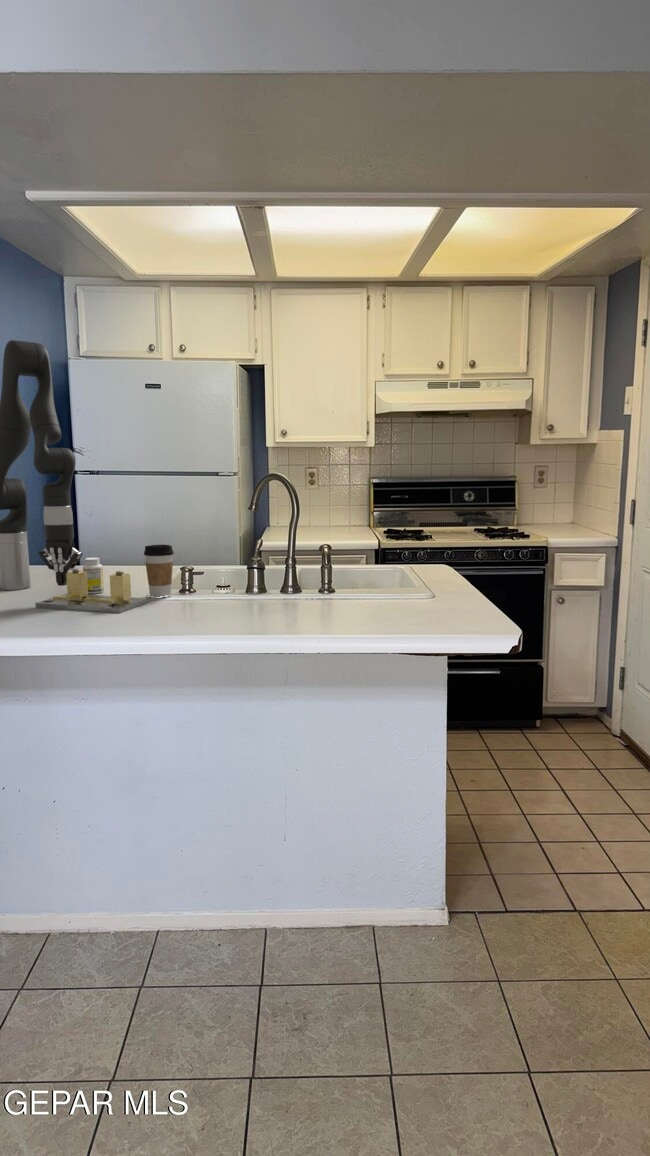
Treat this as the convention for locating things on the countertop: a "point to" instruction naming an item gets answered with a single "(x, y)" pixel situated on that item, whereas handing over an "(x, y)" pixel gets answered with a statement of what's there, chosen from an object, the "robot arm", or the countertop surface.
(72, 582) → the block
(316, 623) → the countertop surface
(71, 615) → the countertop surface
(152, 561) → the coffee cup
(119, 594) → the dividers beam
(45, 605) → the hole plate
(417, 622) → the countertop surface
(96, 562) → the supplement bottle
